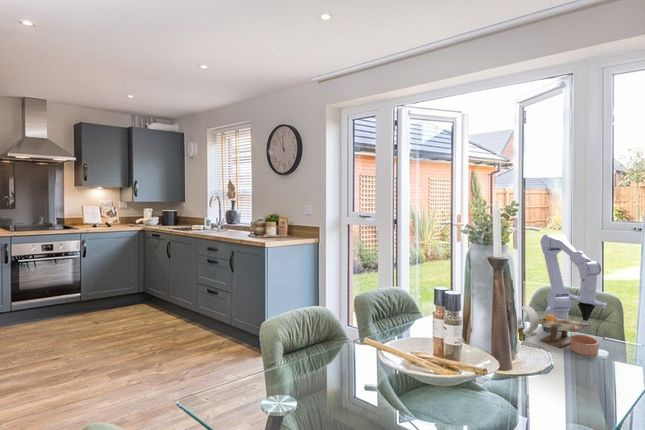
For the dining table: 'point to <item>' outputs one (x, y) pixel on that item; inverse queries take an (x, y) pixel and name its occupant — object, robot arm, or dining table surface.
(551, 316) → the ball
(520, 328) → the pill bottle
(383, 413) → the dining table surface
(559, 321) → the beige curved piece
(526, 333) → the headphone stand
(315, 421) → the dining table surface
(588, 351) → the cup
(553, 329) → the lever stand
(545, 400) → the dining table surface
